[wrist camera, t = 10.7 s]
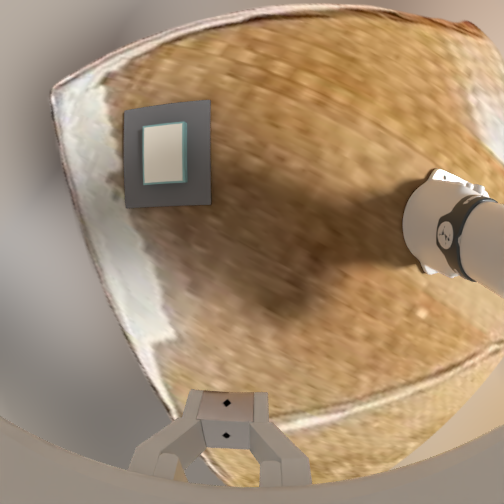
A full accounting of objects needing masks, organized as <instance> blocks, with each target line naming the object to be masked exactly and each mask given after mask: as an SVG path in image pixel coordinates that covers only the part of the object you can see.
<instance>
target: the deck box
mask: <svg viewBox="0 0 504 504" xmlns="http://www.w3.org/2000/svg"><path fill="white" fill-rule="evenodd" d="M184 182H188V180H187V123H186V122H184V121H183V122H173V123H164V124H156V125H148V126H143V185H152V184H167V183H184Z"/></svg>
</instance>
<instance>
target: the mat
mask: <svg viewBox="0 0 504 504" xmlns="http://www.w3.org/2000/svg"><path fill="white" fill-rule="evenodd" d="M210 106H211V101H210V100H201V101H190V102H180V103H171V104H163V105H156V106H149V107H143V108H137V109H131V110H126V111H125V113H124V184H125V203H126V208H138V207H158V206H183V205H211V161H210ZM183 121H184V122H186V123H187V180H188V182H184V183H167V184H152V185H143V126H148V125H156V124H164V123H173V122H183Z"/></svg>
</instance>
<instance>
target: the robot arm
mask: <svg viewBox="0 0 504 504" xmlns="http://www.w3.org/2000/svg"><path fill="white" fill-rule="evenodd" d="M443 176H444V179H443ZM403 235H404V239H405V242H406V245H407V247H408V249H409V250H410V252H411V253H412V254H413V255H414V256H415V257H416V258H417V259H418V260H419V261H420V263H421V266H422V268H423V270H424V272H425V273H427V274H429V275H431V274H435V273H438V272H439V273H441V274H443V275H445V276H447V277H449V278H453V277H454V276H458V275H459V276H461V277H463V278H464V279H467V280H470V281H472V282H478V283H480V284H481V285H483V286H485V287H486V288H488V289H489V290H491V291H492V292H494V293H496V294H497V295H499V296H500V297H502V298H504V204H501V203H498V202H497V201H495V200H493V199H491V198H489V195H488V193H487V192H486V191H485V187H483V186H481V185H478V184H474V185H473V184H471V183H469V182H467V181H465V180H463V179H461V178H459V177H457V176H455V175H453V174H451V173H448V172H446V171H444V170H442V169H438V168H437V169H435V170H434V171H433V172H432V173H431V175H430V177H429V179H428V180H427V181H426V182H425V183H424V184H422V185H421V186H420V187H418V188H417V189H416V190H415V191H414V193H413V194H412V195H411V197H410V198H409V200H408V202H407V205H406V208H405V211H404V216H403ZM206 447H211V448H231V449H250V451H251V453H252V454H253V455H254V457H255V458H256V460H257V461H258V462H259V464H260V484H259V487H231V486H216V485H205V484H196V483H188V481H187V478H186V475H185V473H184V470H185V469H186V468H187V467H188V466H189V465H190V464H191V463H192V462H193V461H194V460H195V459H196V458H197V457H198V456H199V455H200V454H201V453H202V452H203V451H204V450H205V449H206ZM0 504H504V425H501V426H498V427H496V428H495V429H493V430H491V431H489V432H487V433H485V434H483V435H481V436H479V437H477V438H475V439H473V440H471V441H469V442H467V443H465V444H463V445H460V446H458V447H456V448H453V449H451V450H449V451H446V452H444V453H441V454H439V455H436V456H433V457H430V458H428V459H425V460H422V461H419V462H416V463H413V464H410V465H407V466H403V467H400V468H396V469H393V470H389V471H385V472H381V473H377V474H373V475H368V476H364V477H359V478H353V479H348V480H342V481H336V482H329V483H321V484H312V480H311V473H310V465H309V458H308V457H307V456H306V455H305V454H304V453H303V452H302V451H301V450H300V449H299V448H297V447H296V446H295V445H294V444H293V443H292V442H291V441H290V440H289V439H288V438H287V437H286V436H285V435H284V433H283V432H282V431H281V430H280V429H279V428H278V427H277V426H276V425H275V424H274V423H273V422H269V411H268V393H267V392H255V393H254V392H219V391H206V390H204V391H203V390H194V389H191V391H190V392H189V395H188V399H187V402H186V405H185V409H184V412H183V416H182V418H177V419H176V420H174V421H173V422H171V423H170V424H169V425H167V426H166V427H165V428H163V429H162V430H160V431H159V432H157V433H156V434H154V435H153V436H152V437H150V438H149V439H147V440H146V441H144V442H143V443H141V444H140V445H138V446H137V447H136V449H135V452H134V455H133V457H132V460H131V462H130V465H129V467H128V470H124V469H120V468H117V467H113V466H110V465H107V464H104V463H101V462H98V461H95V460H92V459H89V458H86V457H84V456H81V455H78V454H76V453H73V452H71V451H68V450H66V449H63V448H61V447H58V446H56V445H54V444H52V443H50V442H47V441H45V440H43V439H41V438H39V437H37V436H35V435H33V434H31V433H29V432H27V431H25V430H24V429H21V428H20V427H18V426H16V425H14V424H13V423H11V422H9V421H8V420H6V419H4V418H2V417H1V416H0Z"/></svg>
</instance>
